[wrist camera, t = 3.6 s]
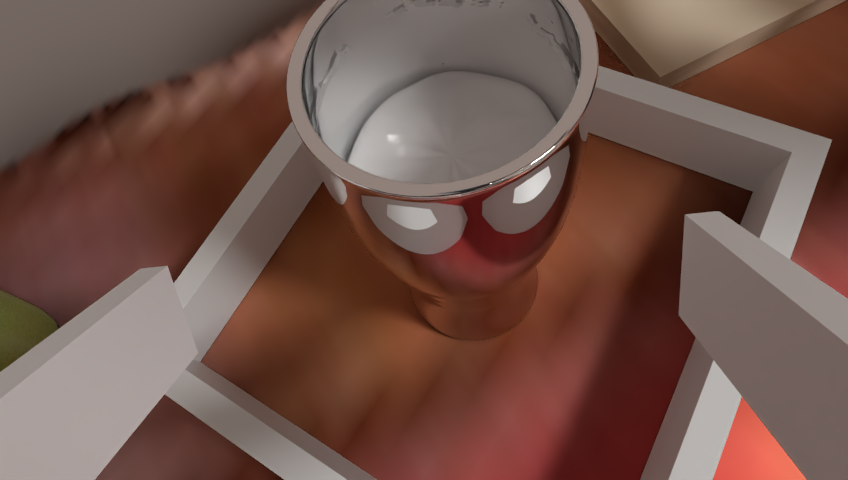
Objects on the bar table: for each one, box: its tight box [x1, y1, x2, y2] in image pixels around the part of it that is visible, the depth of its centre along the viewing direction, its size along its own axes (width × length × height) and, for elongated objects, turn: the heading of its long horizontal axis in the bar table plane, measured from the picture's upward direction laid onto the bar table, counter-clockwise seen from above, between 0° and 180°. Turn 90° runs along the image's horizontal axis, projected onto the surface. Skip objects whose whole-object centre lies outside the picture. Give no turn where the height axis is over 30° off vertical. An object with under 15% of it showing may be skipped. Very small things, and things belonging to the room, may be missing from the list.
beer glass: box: [286, 0, 599, 341], centre depth 17 cm, size 7×7×15 cm
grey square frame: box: [165, 66, 832, 480], centre depth 23 cm, size 22×22×4 cm
